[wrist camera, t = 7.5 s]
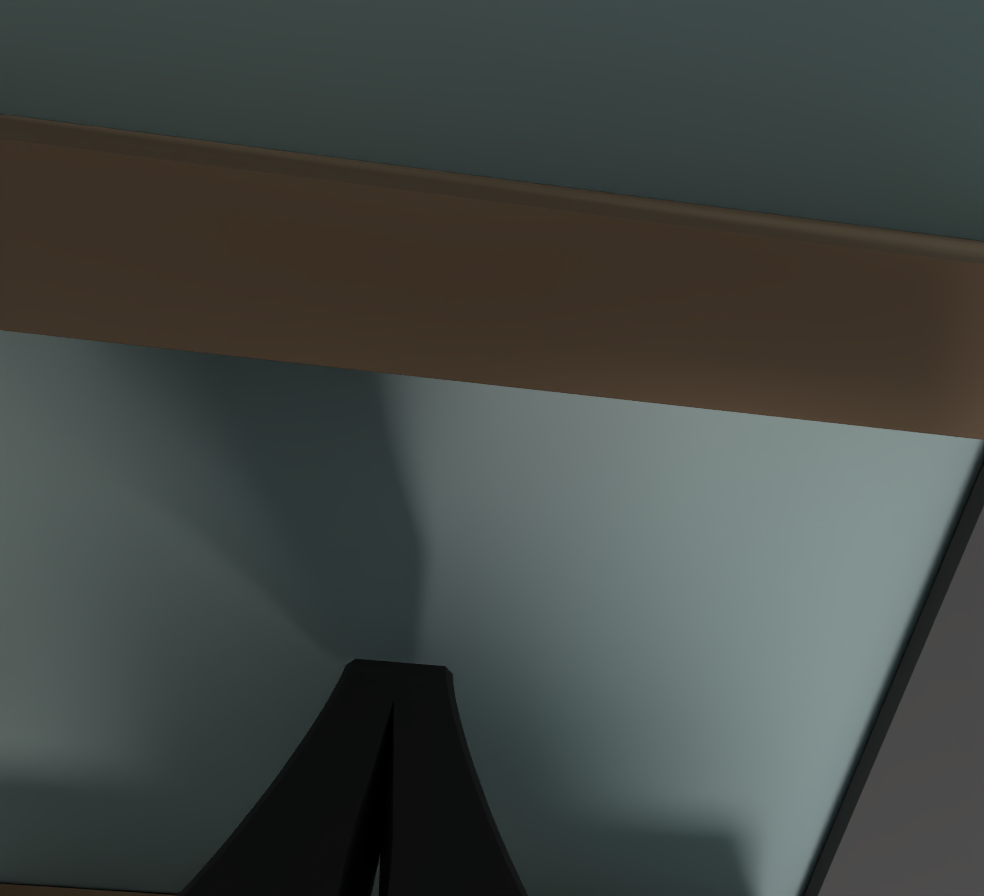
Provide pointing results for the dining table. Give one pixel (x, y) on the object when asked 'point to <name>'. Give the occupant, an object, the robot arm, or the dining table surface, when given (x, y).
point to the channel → (482, 283)
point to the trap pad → (924, 751)
